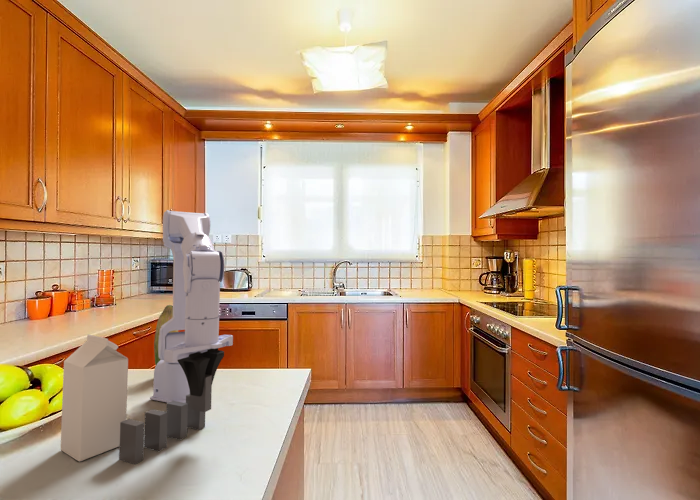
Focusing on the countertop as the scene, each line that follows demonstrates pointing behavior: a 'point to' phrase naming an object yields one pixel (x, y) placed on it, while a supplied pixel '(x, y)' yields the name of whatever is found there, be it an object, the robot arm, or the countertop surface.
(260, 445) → the countertop surface
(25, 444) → the countertop surface
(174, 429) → the domino
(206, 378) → the domino
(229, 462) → the countertop surface
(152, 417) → the domino
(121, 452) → the domino end
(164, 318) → the vegetable
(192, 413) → the domino
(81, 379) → the milk carton
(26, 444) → the countertop surface
